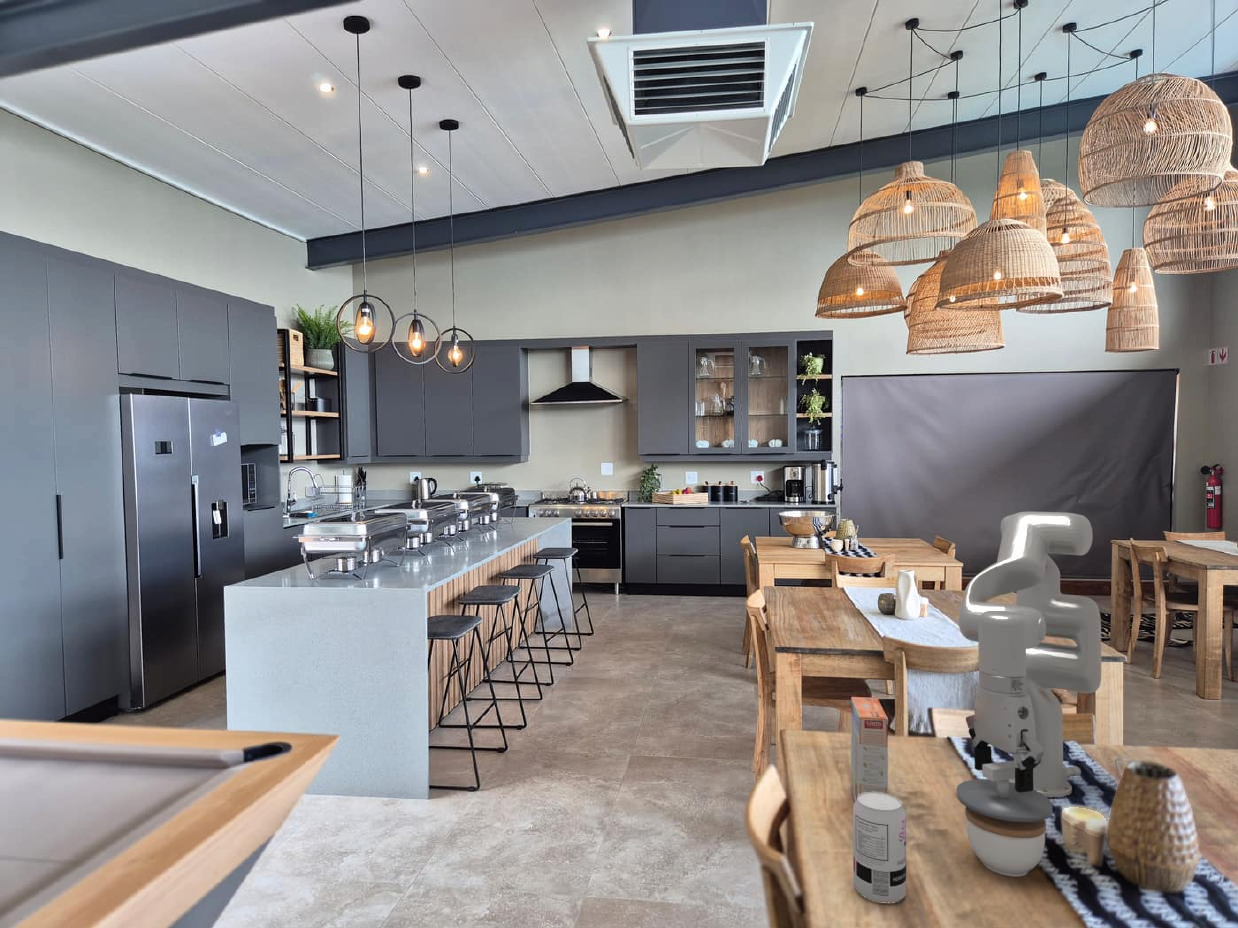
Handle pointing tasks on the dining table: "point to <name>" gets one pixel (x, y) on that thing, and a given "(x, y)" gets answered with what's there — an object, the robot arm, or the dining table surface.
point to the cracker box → (868, 747)
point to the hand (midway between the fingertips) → (1002, 779)
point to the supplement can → (879, 847)
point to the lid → (1003, 796)
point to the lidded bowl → (1006, 843)
